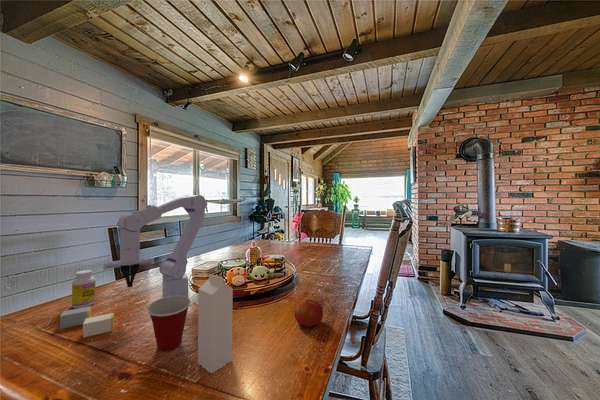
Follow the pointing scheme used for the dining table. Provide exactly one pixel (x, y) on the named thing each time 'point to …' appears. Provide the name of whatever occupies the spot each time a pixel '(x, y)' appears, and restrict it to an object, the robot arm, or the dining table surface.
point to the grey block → (74, 317)
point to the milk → (214, 324)
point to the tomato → (308, 313)
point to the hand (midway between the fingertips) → (130, 286)
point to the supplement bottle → (83, 289)
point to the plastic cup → (169, 320)
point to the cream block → (98, 325)
